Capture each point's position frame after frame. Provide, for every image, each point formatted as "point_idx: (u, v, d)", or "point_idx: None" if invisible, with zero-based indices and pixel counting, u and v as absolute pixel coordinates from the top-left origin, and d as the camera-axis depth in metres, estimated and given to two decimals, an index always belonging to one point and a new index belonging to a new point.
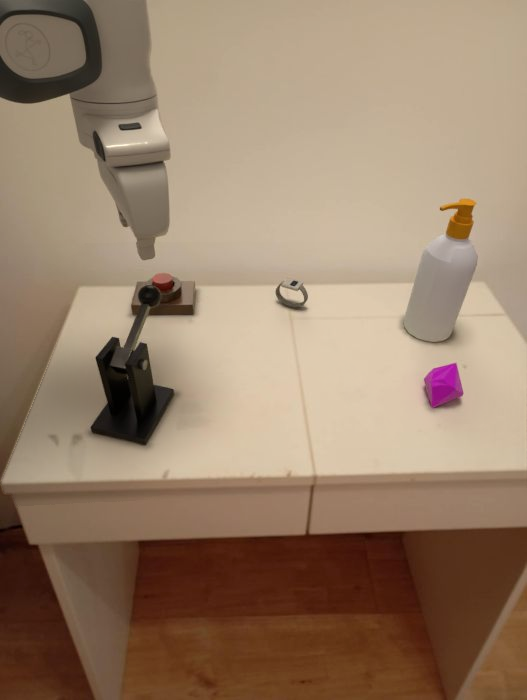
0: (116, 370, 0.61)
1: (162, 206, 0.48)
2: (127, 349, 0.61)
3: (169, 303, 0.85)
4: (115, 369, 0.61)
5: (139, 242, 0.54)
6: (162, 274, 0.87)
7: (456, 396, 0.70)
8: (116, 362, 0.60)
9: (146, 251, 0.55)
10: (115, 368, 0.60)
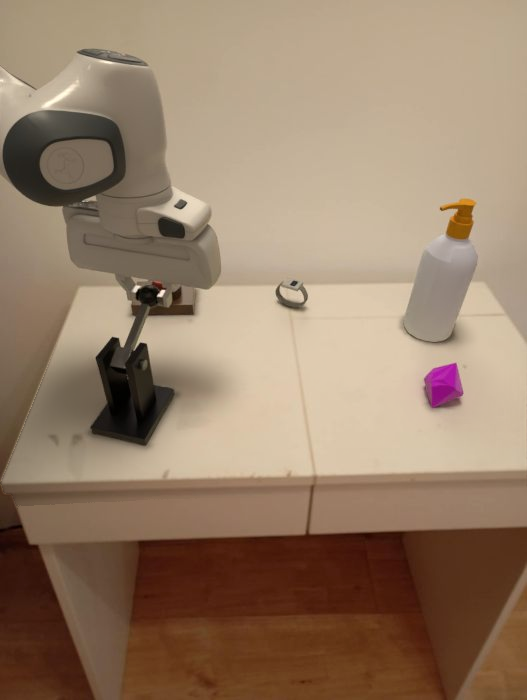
0: (116, 370, 0.61)
1: (218, 255, 0.60)
2: (127, 349, 0.61)
3: None
4: (115, 369, 0.61)
5: (170, 292, 0.63)
6: None
7: (456, 396, 0.70)
8: (116, 362, 0.60)
9: (169, 299, 0.64)
10: (115, 368, 0.60)
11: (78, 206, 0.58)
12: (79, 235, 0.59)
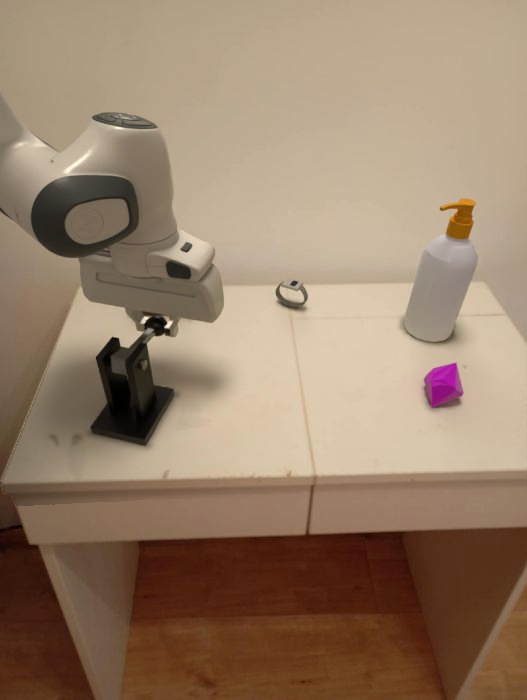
0: (114, 367, 0.60)
1: (221, 291, 0.64)
2: (130, 349, 0.61)
3: None
4: (114, 365, 0.60)
5: (176, 324, 0.67)
6: None
7: (456, 396, 0.70)
8: (118, 355, 0.60)
9: (175, 329, 0.69)
10: (114, 362, 0.60)
11: None
12: (92, 274, 0.64)
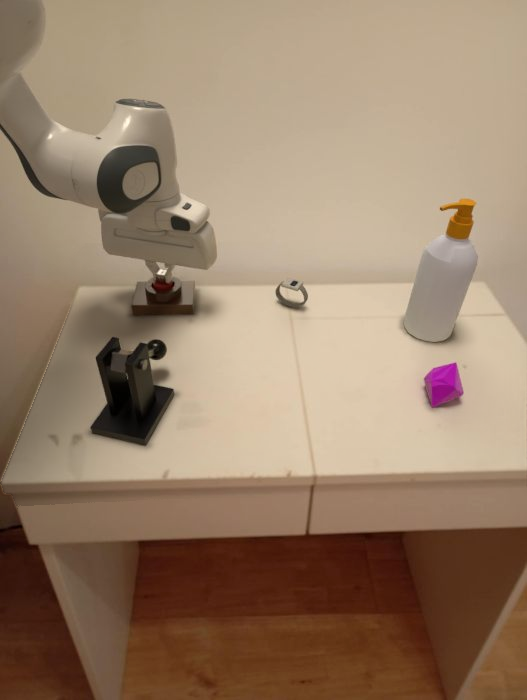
0: (114, 363, 0.60)
1: (215, 244, 0.80)
2: (132, 351, 0.62)
3: (169, 303, 0.85)
4: (114, 361, 0.60)
5: (170, 271, 0.83)
6: None
7: (456, 396, 0.70)
8: (119, 352, 0.60)
9: (169, 276, 0.85)
10: (115, 358, 0.60)
11: None
12: (111, 229, 0.80)
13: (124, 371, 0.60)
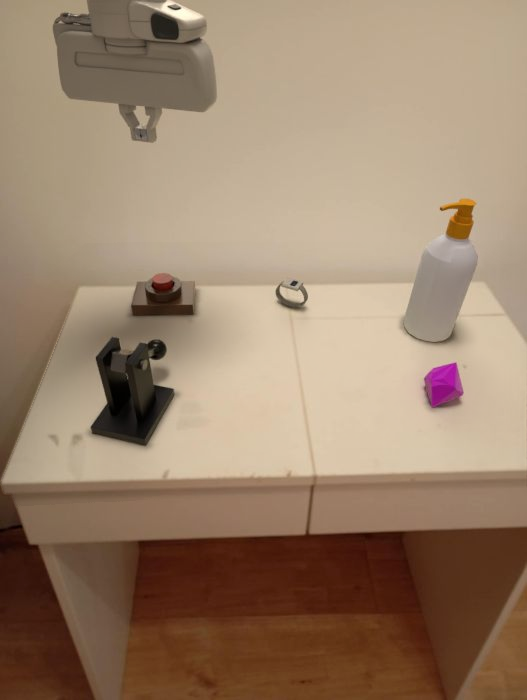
0: (114, 363, 0.60)
1: (214, 76, 0.58)
2: (132, 351, 0.62)
3: (169, 303, 0.85)
4: (114, 361, 0.60)
5: (153, 122, 0.61)
6: (162, 274, 0.87)
7: (456, 396, 0.70)
8: (119, 352, 0.60)
9: (153, 133, 0.63)
10: (115, 358, 0.60)
11: (69, 20, 0.56)
12: (70, 54, 0.58)
13: (124, 371, 0.60)
